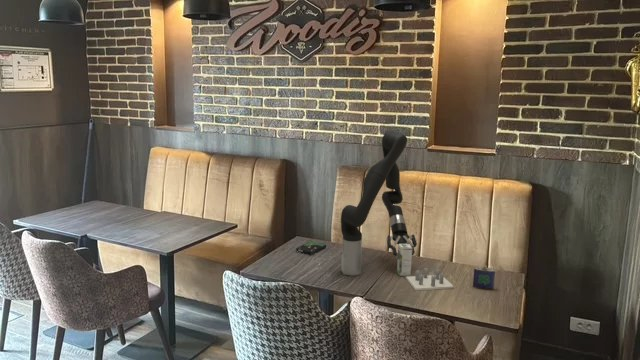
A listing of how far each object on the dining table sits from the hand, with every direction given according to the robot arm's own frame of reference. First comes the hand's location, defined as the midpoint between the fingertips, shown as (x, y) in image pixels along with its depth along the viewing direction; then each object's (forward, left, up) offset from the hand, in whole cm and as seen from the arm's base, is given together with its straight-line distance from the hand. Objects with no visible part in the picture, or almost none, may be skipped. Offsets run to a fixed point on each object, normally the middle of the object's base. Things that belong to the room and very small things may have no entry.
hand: (404, 255), depth 253 cm
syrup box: (0, -1, -10) cm, 10 cm away
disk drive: (-40, +39, -10) cm, 57 cm away
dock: (+8, -14, -9) cm, 18 cm away
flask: (+31, -22, -10) cm, 39 cm away
